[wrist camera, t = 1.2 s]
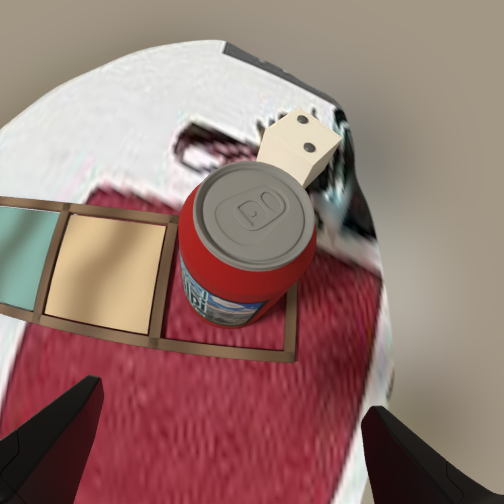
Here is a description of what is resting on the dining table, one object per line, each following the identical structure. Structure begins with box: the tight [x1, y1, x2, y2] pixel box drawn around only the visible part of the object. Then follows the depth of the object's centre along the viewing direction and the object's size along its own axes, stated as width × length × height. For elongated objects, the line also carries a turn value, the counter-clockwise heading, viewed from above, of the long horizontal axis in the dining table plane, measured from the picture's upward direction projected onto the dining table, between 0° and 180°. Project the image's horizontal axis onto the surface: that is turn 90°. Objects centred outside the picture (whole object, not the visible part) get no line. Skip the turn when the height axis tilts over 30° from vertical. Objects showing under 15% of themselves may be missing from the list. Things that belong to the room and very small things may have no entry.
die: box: [256, 107, 342, 189], centre depth 28 cm, size 5×5×5 cm
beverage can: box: [178, 161, 316, 329], centre depth 19 cm, size 7×7×12 cm
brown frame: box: [0, 196, 297, 363], centre depth 23 cm, size 31×11×1 cm, turn 86°
